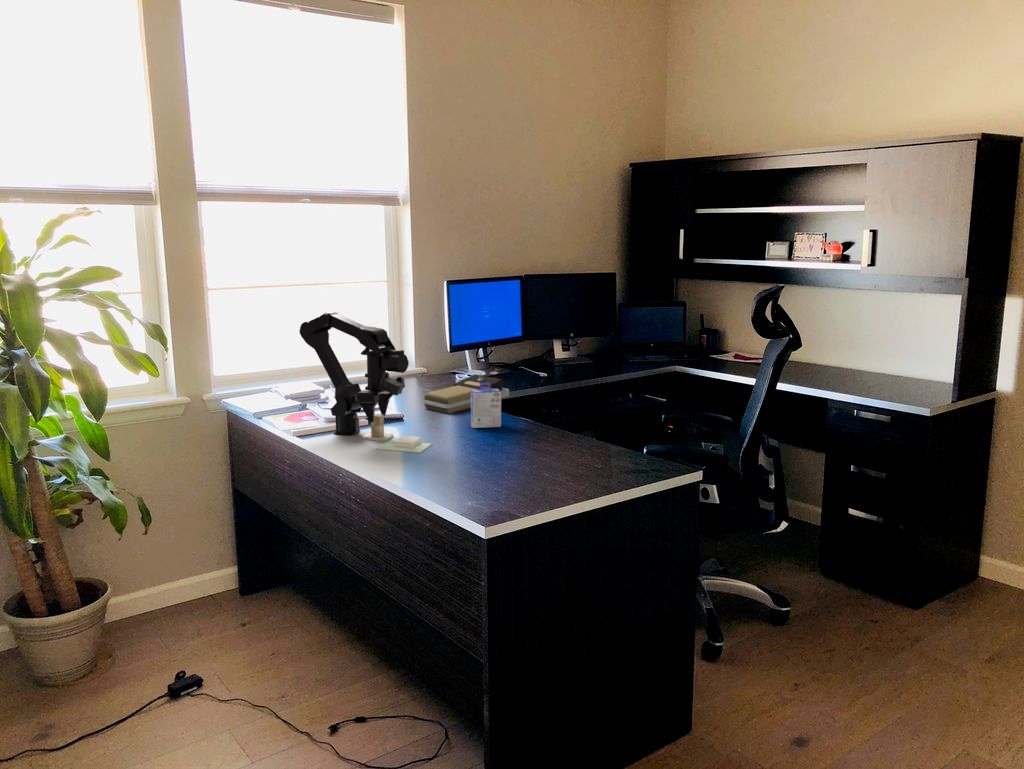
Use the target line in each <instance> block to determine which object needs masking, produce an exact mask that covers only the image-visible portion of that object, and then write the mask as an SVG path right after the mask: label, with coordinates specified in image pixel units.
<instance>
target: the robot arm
mask: <svg viewBox="0 0 1024 769" xmlns="http://www.w3.org/2000/svg"><path fill="white" fill-rule="evenodd" d="M331 329H335V330H338V331H340V332H342V333H344V334H346V335H349V336H350V337H353V338H355V339H356V340H357V341H358V342H359V344H361V345H362V346H363V347H365V348H364V349H363V350H362V351H361V352H360V355H361V356H366V371H367V372H366V373H365V374H364V378H367V385H366V386H364V388H365V389H361V387H360V384H359V383H352V382H351V381H350V380H349V378H348V376H347V375H346V372H345V371H344V368H343V367H342V365H341V363H340V362H339V359H338V358H337V356H336V353H335V351H333V348H332V346H331V345H330V344H331V343H330V333H329V331H330V330H331ZM299 335H300V337H301V338H302V339H303V341H304V342H305V343H306V344H307V345H308V346H309V347H310V348H311V349H313V350H314V351H315V353H316V354H317V357H318V358H319V360H320V363H321V364H322V366H323V368H324V370H325V372H326V373H327V375H328V377H329V379H330V381H331V383H332V385H333V387H334V399H335V401H336V403H334V405H333V406H332V407H331V408H330V413H331V416H333V417H335V431H334V432H333V434H334V435H344V436H353V435H355V434H357V433H358V432H361V429H360V419H359V417H358V414H359V413H361V411H362V410H363V412H364V413H365V415H366V418H367V419H368V421H369V423H371V422H373V421H374V414H376V413H375V411H376V406H377V405H378V408H379V411H380V414H384V417H385V416H386V414H387V411H388V407H389V403H390V401H391V400H390V399H391V398H392V397H393V396H399V395H400V394H403V390H404V388H406V385H405V383H406V382H405V378H404V377H402V376H398V377H396V378H391V377H390V373H389V372H391V373H392V372H393V373H402V374H404V373H405V372H407V370H408V367H409V364H410V363H409V359H408V357H407V355H406V354H405V350H404V349H396V348H395V345H394V344H393V342H392V341H391V339H390V337H389V336H388V332H387V330H386V329H384V328H381V327H376V326H367V325H363V324H361V323H359V322H356V321H355V320H352V319H350V318H348V317H345V316H343V315H341V314H339V313H338V312H336V311H330V312H329V311H328V312H324V313H322V314H321V315H319V316H318V317H316V318H313V319H311V320H309V321H304V322H302V323H301V324H300V327H299Z"/></svg>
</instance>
